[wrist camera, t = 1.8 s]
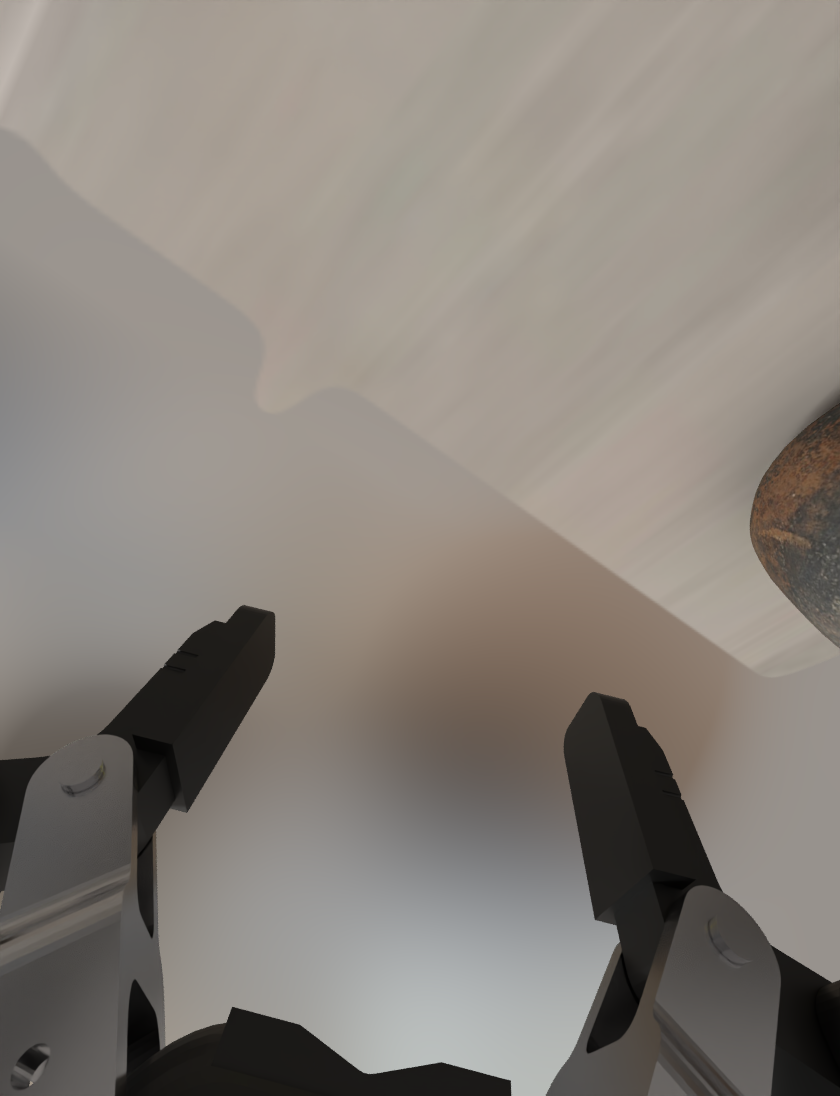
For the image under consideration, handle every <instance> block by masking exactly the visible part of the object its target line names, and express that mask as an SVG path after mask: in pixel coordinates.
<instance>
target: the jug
mask: <svg viewBox="0 0 840 1096" xmlns="http://www.w3.org/2000/svg"><path fill="white" fill-rule="evenodd" d="M750 535H751V541H752V544H753V547H754V549H755V552H756V554H757V556H758V558H759V560H760V561H761V563H762V565H763V567H764V568H765V570H766V572H767V573H768V575H769V576H770V578H771V579H772V580H773V582H774V583H775V584H776V585H777V586H778V587H779V589H780V590H781V591H782V592H783V593H784V595H785V596H786V597H787V598H788V599H789V600H790V601H791V602H792V603H793V604H794V605H795V606H796V608H797V609H798V610H799V611H800V612H801V613H802V614H803V615H804V616H805V617H806V618H807V619H808V620H809V621H810V622H811V623H812V624H813V625H814V626H815V627H816V628H817V629H818V630H819V631H820V632H821V633H822V634H823V635H824V636H825V637H827V638H828V639H829V640H830V641H831V642H832V643H834V644H835V645H836V646H837V647H839V648H840V403H839V404H838V405H837V406H835V407H834V408H832V409H831V410H830V411H828V412H827V413H826V414H824V415H823V416H822V417H820V418H819V419H817V420H816V421H815V422H813V423H812V424H811V425H809V426H808V427H807V428H806V429H804V430H803V431H802V432H801V433H800V434H799V435H798V436H797V437H796V438H794V439H793V440H792V441H791V442H790V443H789V444H788V445H787V446H786V447H785V448H784V449H783V451H782V452H781V453H780V454H779V455H778V457H777V458H776V459H775V460H774V462H773V463H772V464H771V466H770V467H769V469H768V470H767V472H766V473H765V475H764V476H763V478H762V480H761V482H760V484H759V486H758V489H757V492H756V494H755V498H754V502H753V506H752V511H751V518H750Z"/></svg>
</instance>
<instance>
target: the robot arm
mask: <svg viewBox="0 0 840 1096" xmlns="http://www.w3.org/2000/svg"><path fill="white" fill-rule="evenodd" d="M274 658H275V614H274V613H273V612H270V611H266V610H262V609H258V608H254V607H250V606H246V605H243V606H241V607H239V608H238V609H237V611H236V612H235V613H234V614H233V616H231V618H230V619H229V620H228V621H227V622H226V623H223V622H219V621H213V622H211V623H210V624H208V625H206V626H204V627H203V628H201V629H199V630H198V631H196V632H194V633H193V634H192V635H191V636H190V637H189V638H188V639H187V640H186V641H185V643H184V644H183V645H182V646H181V647H180V648H179V649H178V651H177V653H176V654H173V656H172V657H171V658H170V659H169V660H168V661H167V662H166V663H165V664H164V667H163V668H160V670H159V671H158V672H157V673H156V674H155V675H154V676H153V677H152V678H151V679H150V680H149V681H148V683H147V684H146V685H145V686H144V687H143V688H142V689H141V690H140V691H139V693H137V694H136V696H135V697H134V698H133V699H132V700H131V701H130V702H129V703H128V704H127V705H126V707H125V708H124V709H123V710H122V711H121V712H120V713H119V714H118V715H117V716H116V717H115V719H113V721H112V722H111V723H110V724H109V725H108V726H107V727H106V728H105V729H104V730H102V731H101V732H100V733H99V734H97V735H95V736H90V737H86V738H83V739H80V740H77V741H75V742H72V743H70V744H68V745H67V746H65V747H63V748H61V749H60V750H58V751H57V752H55V753H54V754H52V755H51V756H45V757H37V758H24V759H11V760H0V892H1V891H4V896H3V900H2V905H1V909H0V1096H511V1081H510V1080H506V1079H502V1078H498V1077H494V1076H490V1075H487V1074H483V1073H480V1072H476V1071H472V1070H468V1069H465V1068H460V1067H457V1066H453V1065H449V1064H446V1063H442V1062H441V1063H436V1064H429V1065H424V1066H418V1067H412V1068H406V1069H401V1070H394V1071H388V1072H383V1073H377V1074H366V1073H363V1072H361V1071H359V1070H358V1069H357V1068H355V1067H354V1066H353V1065H351V1064H350V1063H349V1062H347V1061H346V1060H345V1059H344V1058H342V1057H341V1056H340V1055H338V1054H337V1053H336V1052H335V1051H333V1050H332V1049H331V1048H329V1047H328V1046H327V1045H326V1044H324V1043H323V1042H322V1041H320V1040H319V1039H318V1038H316V1037H315V1036H314V1035H312V1034H311V1033H310V1032H309V1031H307V1030H306V1029H305V1028H303V1027H302V1026H301V1025H298V1024H295V1023H291V1022H287V1021H284V1020H280V1019H276V1018H272V1017H269V1016H265V1015H261V1014H257V1013H254V1012H250V1011H246V1010H242V1009H238V1008H235V1007H232V1009H231V1012H230V1014H229V1017H228V1020H227V1023H223V1024H217V1025H212V1026H209V1027H206V1028H203V1029H200V1030H197V1031H194V1032H192V1033H190V1034H188V1035H186V1036H184V1037H182V1038H180V1039H178V1040H176V1041H174V1042H172V1043H171V1044H169V1045H168V1046H166V1047H165V1014H164V986H163V974H162V964H161V957H160V950H159V938H158V900H157V899H158V898H157V897H158V896H157V849H156V829H157V827H158V826H159V824H160V823H161V821H162V820H163V818H164V816H165V815H166V813H167V812H168V810H169V809H170V808H171V809H175V810H178V811H182V812H186V813H187V812H188V810H189V809H190V807H191V805H192V804H193V802H194V800H195V799H196V797H197V795H198V794H199V792H200V790H201V789H202V787H203V785H204V783H205V782H206V780H207V779H208V777H209V775H210V774H211V772H212V770H213V769H214V767H215V765H216V764H217V762H218V760H219V759H220V757H221V755H222V754H223V752H224V750H225V749H226V747H227V745H228V744H229V742H230V740H231V739H232V737H233V735H234V734H235V732H236V730H237V729H238V727H239V725H240V724H241V722H242V720H243V719H244V717H245V715H246V714H247V712H248V710H249V709H250V707H251V705H252V704H253V702H254V700H255V699H256V697H257V695H258V694H259V692H260V690H261V689H262V687H263V685H264V683H265V682H266V680H267V678H268V676H269V674H270V672H271V669H272V666H273V662H274ZM564 756H565V762H566V767H567V772H568V778H569V783H570V789H571V794H572V800H573V805H574V810H575V816H576V820H577V826H578V832H579V836H580V842H581V848H582V853H583V858H584V864H585V869H586V874H587V880H588V885H589V891H590V896H591V901H592V906H593V911H594V918H595V920H598V921H602V922H606V923H610V924H613V925H617V930H618V934H619V939H620V942H619V944H617V946H616V947H615V949H614V952H613V954H612V956H611V959H610V961H609V964H608V966H607V969H606V971H605V974H604V976H603V979H602V981H601V984H600V986H599V989H598V991H597V994H596V996H595V999H594V1002H593V1004H592V1006H591V1009H590V1011H589V1014H588V1017H587V1019H586V1022H585V1024H584V1027H583V1029H582V1032H581V1034H580V1037H579V1039H578V1042H577V1044H576V1046H575V1048H574V1050H573V1052H572V1054H571V1055H570V1057H569V1059H568V1060H567V1062H566V1063H565V1064H564V1065H563V1067H562V1068H561V1069H560V1071H559V1072H558V1074H557V1075H556V1077H555V1079H554V1080H553V1082H552V1084H551V1086H550V1088H549V1090H548V1092H547V1094H546V1096H840V980H839V981H836V982H833V983H831V982H830V981H828V980H826V979H825V978H823V977H822V976H820V975H819V974H817V973H815V972H814V971H812V970H810V969H809V968H807V967H805V966H804V965H802V964H801V963H799V962H797V961H796V960H794V959H792V958H791V957H789V956H787V955H786V954H784V953H782V952H781V951H779V950H778V949H776V948H775V947H773V946H772V945H770V943H769V942H768V940H767V938H766V936H765V935H764V933H763V932H762V930H761V929H760V927H759V926H758V924H757V923H756V922H755V921H754V919H753V918H752V917H751V916H750V915H749V914H748V913H747V911H745V909H744V908H743V907H741V906H740V905H739V904H738V903H737V902H736V901H735V900H733V899H732V898H731V897H730V896H728V895H726V894H725V893H723V891H722V889H721V888H720V886H719V883H718V881H717V879H716V877H715V874H714V872H713V869H712V867H711V865H710V862H709V860H708V857H707V855H706V853H705V850H704V848H703V846H702V843H701V841H700V838H699V836H698V834H697V831H696V829H695V826H694V824H693V821H692V819H691V817H690V814H689V812H688V809H687V807H686V805H685V802H684V800H682V799H681V793H680V790H679V788H678V785H677V783H676V781H675V779H673V778H672V776H673V773H672V771H671V769H670V766H669V764H668V761H667V759H666V757H665V754H664V752H663V750H662V749H661V747H660V746H659V745H658V743H657V742H656V741H655V739H654V738H653V737H652V736H651V734H650V733H649V732H648V730H647V729H646V728H644V727H640V726H638V725H637V723H636V720H635V717H634V715H633V712H632V710H631V707H630V705H629V703H628V702H627V701H626V700H624V699H620V698H616V697H612V696H608V695H603V694H600V693H596V692H592V693H590V694H589V695H588V697H587V698H586V700H585V701H584V703H583V704H582V706H581V708H580V709H579V711H578V712H577V714H576V716H575V717H574V719H573V720H572V722H571V724H570V725H569V727H568V729H567V731H566V734H565V739H564ZM30 1081H32V1082H33V1084H32V1085H31V1086H29V1084H30Z"/></svg>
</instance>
